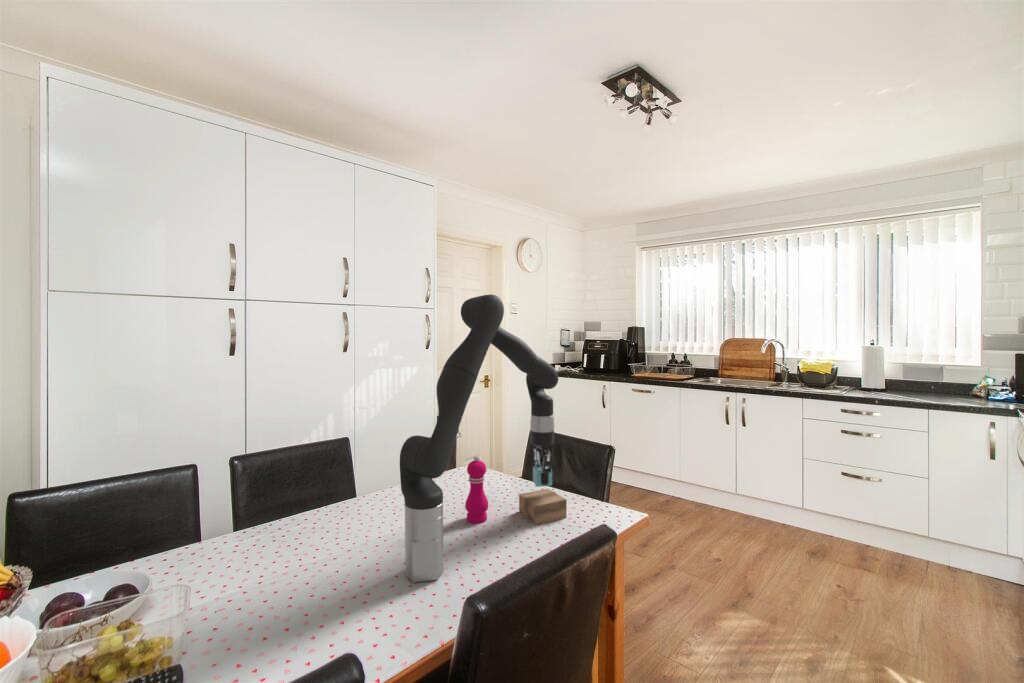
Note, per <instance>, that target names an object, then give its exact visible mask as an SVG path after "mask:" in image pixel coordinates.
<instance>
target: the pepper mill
mask: <svg viewBox="0 0 1024 683" xmlns="http://www.w3.org/2000/svg"><path fill="white" fill-rule="evenodd" d="M466 472H467V474H468V482H469V484H470V486H469V487H470V490H469V493H468V496H467V497H466V500H465V506H464V508H465V510H466V512H467V513H466V521H467V522H469V523H470V524H482V523H484V522H487V520H488V514H487V513H488V512H487V510H488V509H489V500H488V498H487V495H486V493H485V491H484V482H485V480H486V479H485V478H486V476H485V474H486V473H487V465H486V464H485V462H483V461H482V460H480V457H479V455H475V456H474V457H473V460H472V461H471V462H469V463H468V465H467V467H466Z"/></svg>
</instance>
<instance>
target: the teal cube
mask: <svg viewBox="0 0 1024 683" xmlns="http://www.w3.org/2000/svg"><path fill="white" fill-rule="evenodd" d="M545 469H547V466H546V467H545ZM532 482H533V483H534V484H535V486H536V487H537V488H540V487H549V486H553V469H552V468H551V472H549V483H548V485H542V484H541V466H535V465H533V466H532Z"/></svg>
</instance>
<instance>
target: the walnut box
mask: <svg viewBox="0 0 1024 683" xmlns="http://www.w3.org/2000/svg"><path fill="white" fill-rule="evenodd" d="M518 510H519V511H520V512H521V513H522V514H521V513H520V512H519V511H518V512H519V513H520V514H521V515H523V516H524V515H525V516H524V517H526V518H527V519H528V520H530V521H531V522H532V523H534V525H536V524H537V525H540V524H544V523H549V522H553V521H557V520H562V519H567V498H564V497H563V496H561V495H559V494H558V493H556V492H555V491H553V490H551V489H549V488H546V489H539V490H534V491H530V492H525V493H523V492H522V493H520V494H519V495H518Z"/></svg>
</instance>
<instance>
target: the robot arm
mask: <svg viewBox="0 0 1024 683" xmlns="http://www.w3.org/2000/svg"><path fill="white" fill-rule="evenodd" d="M504 307H505V306H504V303H503V301H502V299H501V297H499V296H498V295H495V294H483V295H479V296H475V297H470V298H468V299H466V300H465V301H464V302H463V303H462V305H461V308H460V316H461V319H462V321H463V323H464V324H465V326H467V327H468V328H470V331H469V333H468V335H467V336H466V337H465V339H464V340H463V341H462V342H461V343H460V344H459V345H458V347H456V348H455V350H454V351H453V352H452V353H451V355H450V356H449V357H448V358H447V360H446V361H445V363H444V366H443V368H442V370H441V373H440V375H439V378H438V380H437V383H436V391H435V392H436V399H437V408H438V414H437V419H436V424H435V426H434V429H433V432H432V434H431V436H423V435H411V436H409V437H407V439H406V440H405V441H404V443H403V444H402V446H401V450H400V452H399V476H400V489H401V490H400V491H401V494H402V495H403V498H404V560H405V562H404V563H405V564H404V566H405V576H406V577H407V579H409V580H411V583H413V584H415V583H423V582H429V581H430V582H431V581H438V580H439V577H440V576H441V575H442V574H443V573H444V492H443V490H442V487H441V486H439V485H438V484H437V483H436V482H435V480H433V479H438V478H439V477H441V476H442V475H443V474H444V472H445V471H446V469H447V468H448V466H449V463H450V460H451V458H452V454H453V451H454V448H455V447H454V446H455V442H456V440H457V436H458V432H459V428H460V425H461V422H462V419H463V417H464V413H465V410H466V408H467V404H468V402H469V399H470V398H471V394H472V393H473V390H474V388H475V385H476V382H477V379H478V375H479V373H480V370H481V368H482V365H483V362H484V361H485V358H486V356H487V352H488V351H489V348H490V346H491V345H492V346H494V347H495V348H496V349H497V350H499V352H501V353H502V354H503V355H504V356H506V358H508V360H509V361H511V363H513V365H514V366H515V367H517V369H518V370H519V371H520V372H522V373H524V374H526V375H525V376H526V377H525V382H526V387H527V390H528V396H529V399H530V405H531V406H530V407H531V408H530V409H531V410H530V411H531V413H530V423H529V424H530V430H529V431H530V434H529V435H530V444H532V450H533V452H532V453H533V463H534V466H541V484H542V485H548V483H549V472H551V469H552V466H553V454H551V452H550V448H549V447H550V446H552V445H554V443H555V418H554V399H553V397H551V396H549V395H547V393H546V391H545V390H552V389H554V388H555V387H556V386H557V385H558V383H559V375H558V372H557V370H556V369H555V367H554V366H553V365H551V364H550V363H549V362H548V361H546V360H545V359H543V358H542V357H541V356H538V355H537V353H535V352H534V350H533V349H532V348H531V347H530V346H529V345H528V344H527V343H526V342H525V341H524V340H523V339H521V338H520V337H519V336H517V335H514V334H512V333H511V332H509V331H507V330H505V329H504V328H502V327H501V323H502V321H503V318H504V314H505V309H504ZM546 466H547V469H545V467H546Z"/></svg>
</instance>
